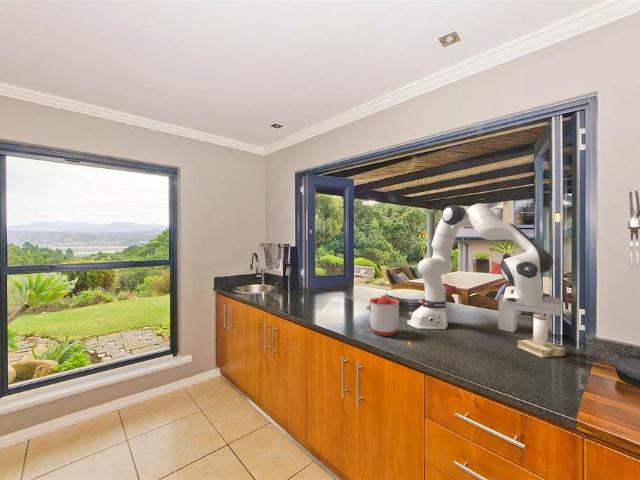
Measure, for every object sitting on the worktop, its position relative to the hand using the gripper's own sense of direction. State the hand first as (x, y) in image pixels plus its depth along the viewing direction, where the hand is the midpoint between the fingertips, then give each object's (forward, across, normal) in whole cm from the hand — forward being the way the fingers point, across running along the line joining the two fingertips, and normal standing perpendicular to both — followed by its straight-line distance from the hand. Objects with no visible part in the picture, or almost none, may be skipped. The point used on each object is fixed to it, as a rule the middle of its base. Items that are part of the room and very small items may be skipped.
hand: (531, 315), depth 126 cm
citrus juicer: (0, +62, +25) cm, 67 cm away
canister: (+15, -2, +4) cm, 16 cm away
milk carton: (+34, +14, -13) cm, 39 cm away
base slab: (+18, -2, +6) cm, 19 cm away
